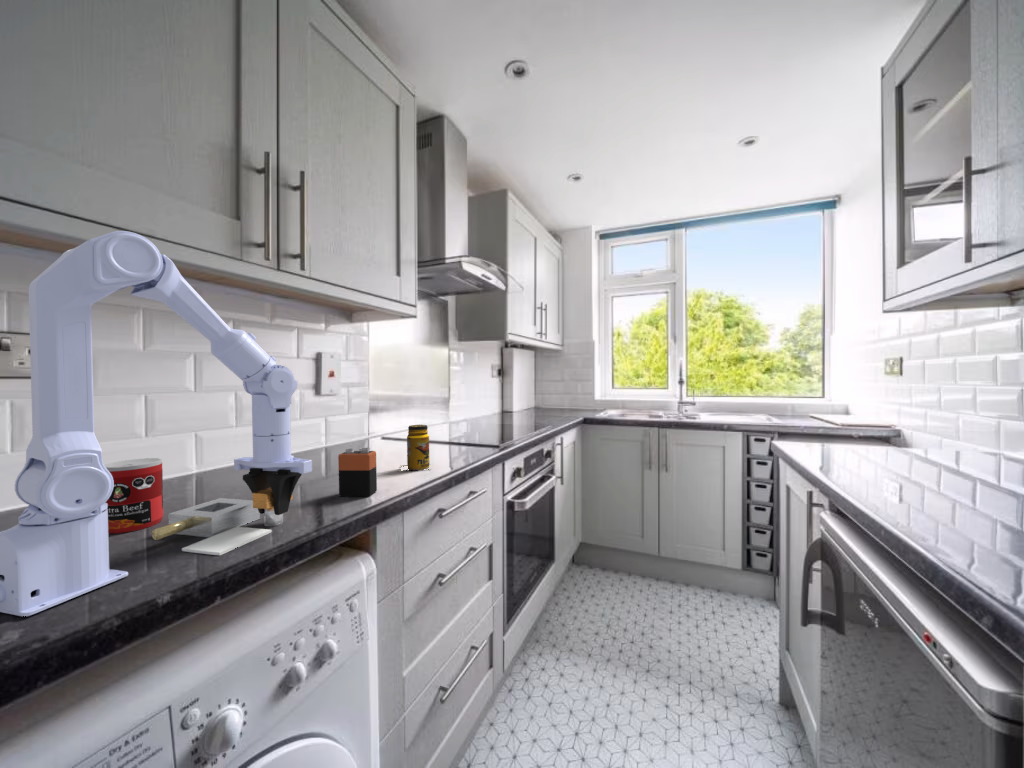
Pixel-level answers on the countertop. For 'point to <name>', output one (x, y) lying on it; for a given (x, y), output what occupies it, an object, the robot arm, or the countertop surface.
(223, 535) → the mat
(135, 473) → the canned food
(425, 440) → the condiment
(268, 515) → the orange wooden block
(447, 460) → the countertop surface
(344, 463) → the battery
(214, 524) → the hollow block with rod
